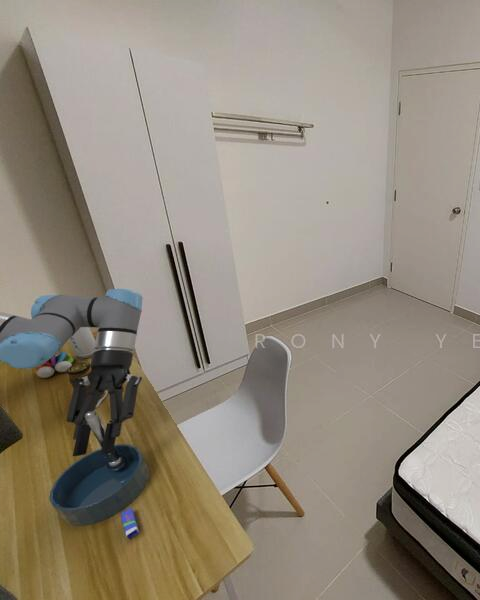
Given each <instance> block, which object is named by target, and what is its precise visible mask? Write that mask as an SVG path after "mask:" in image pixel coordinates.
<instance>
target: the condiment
mask: <svg viewBox="0 0 480 600" xmlns="http://www.w3.org/2000/svg"><path fill="white" fill-rule="evenodd" d="M90 364H91V363H90V362H87V361H83V362H77V363H75V364H72V366H71V367H69V368H68V369H67V371H66V374H67V376H68V382H69V383H70V385H71V387H72V389H73V390H74V384H73V380H74V379H75V378H82V377H85V376H88V374H89V372H90V371H91V365H90ZM89 383H90V381H89ZM90 386H91V383H90V384H89V385H88V390H89V388H90ZM88 390H87V395H86V398H87V396H88ZM107 395H109V393H108V390H105V392H104V394H102V395H101V397H100V399H99V401H98V403H97V405H96V408H98V407H99V406H100V405H101V403H102V402H103V401H104V399H105V398H106V397H107ZM85 400H86V399H85Z"/></svg>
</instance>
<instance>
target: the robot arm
mask: <svg viewBox="0 0 480 600" xmlns="http://www.w3.org/2000/svg"><path fill="white" fill-rule="evenodd" d="M143 300H144V298H143V295H142V294H141V293H140V292H137V291H135V290H132V289H125V288H111V289H108V290H107V291H106V293H105V294H104V296H97V297H95V296H82V295H67V294H45V295H41V296H39V297H37V298H36V299H35V300H34V304H32V306H31V309H30V317H31V319H30V318H26V317H23V316H20V315H14V314H10V313H6V312H3V311H0V362H2V363H3V364H6V365H9V367H10V368H14V369H19V370H30V369H36V368H35V367H38V366H41V365H43V364H44V363H45V362H47V361H48V360H49V359H50V358H51V357H53V356H54V355H55V356H56V355H58V352H60V351H61V349H62V348H63V346H65V344H66V343H67V342H69V340H68V339H70V338H71V337H72V336H73V335H74V334H75V333H76V332H77V331H78V330H79V329H80V327H89V328H98V330H97V333H96V337H95V345H94V348H95V349H96V350H97V351H95V352H93V355H92V357H91V360H90V363H89V364H90V365H91V371H90V372H89V374H88V376H85V377H82V378H75V379H74V380H73V384H74V389H73V391H72V396H71V399H70V404H69V409H68V412H67V416H66V422H67V423H73V424H74V425H75V426H74V427H75V428H74V431H73V436H72V439H73V440H74V441H75V443H74V448H73V452H72V457H78V456H79V457H80V456H83V455H84V456H85V455H87V451H88V446H89V442H90V438H91V437H90V436H91V433H92V430H91V428H90V426H89V424H88V422H87V421H86V419H85V414H86V413H87V412H88V411H95V409H96V408H97V407H96V405H97V403H98V401H99V399H100V397H101V395H102V394H104V392H105V390H108V395H109V406H110V419H111V420H109V421H108V422H107V423H106V426H105V430H106V431H105V436H104V441H103V446H102V447H101V448H102V451H101V454H108V453H112V452H113V450H114V445H116V439H117V438H118V437H120V435H121V431H122V428H123V422H125V421H127V420H130V419H132V418H133V417H134V413H135V408H136V407H135V406H136V400H137V395H138V390H139V386H140V384H141V382H142V380H143V377H142V376H141V375H140V376H139V375H134V374H131V370H130V369H131V367H132V363H133V358H134V353H133V352H132V351H134V350H135V345H136V342H137V341H136V340H137V335H138V329H139V324H140V319H141V315H142V312H143V310H142V308H143ZM89 381H90V383H91V386H90V388H89V390H88V385H89V384H90V383H89ZM125 383H126V386H125V388H124V384H125ZM124 389H125V390H124ZM87 390H88V396H87V398H86V395H87ZM123 393H124V394H123ZM123 395H124V396H123ZM85 399H86V400H85Z"/></svg>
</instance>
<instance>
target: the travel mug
mask: <svg viewBox="0 0 480 600" xmlns="http://www.w3.org/2000/svg"><path fill="white" fill-rule="evenodd" d="M90 328H91V327H80V329H79V330H78V331H77V332H76V333H75V334H74V335H73V336H72V337H71V338H70V339H68V342H69V344H70V346H71V348H72V349H73V352H74V354H75V356H76V358H78V359H82V360H83V359H89V358H92V355H93V352H95V351H97V350H96V349H95V348H94V345H95V341H96V338H95V337H94V335H93V333H92V330H91V329H90Z"/></svg>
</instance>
